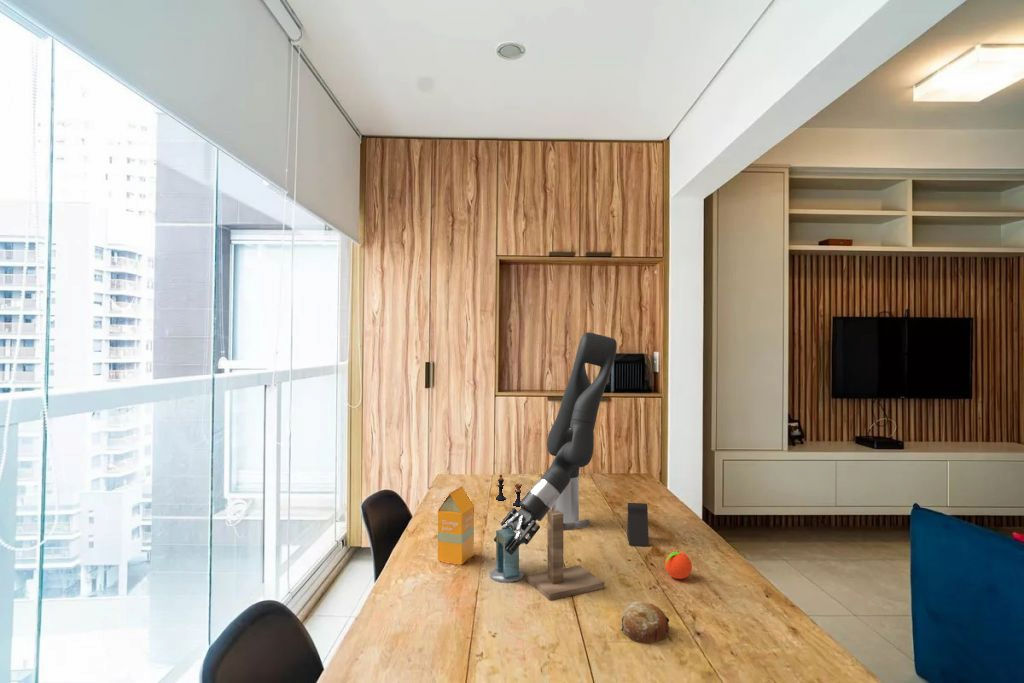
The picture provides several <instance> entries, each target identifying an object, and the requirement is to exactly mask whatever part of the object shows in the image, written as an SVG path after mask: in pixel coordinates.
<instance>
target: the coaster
mask: <svg viewBox="0 0 1024 683" xmlns="http://www.w3.org/2000/svg"><path fill="white" fill-rule="evenodd" d="M489 573H490V575H489V576H490V578H491V580H493V581H495V582H497V581H498V583H502V582H506V583H505V584H508V582H511V583H515V582H514V581H516V582H519V581H521V580H522V579H523V578H524V577H525V576H524V571H523V570H522V569H520V568H519V577H514V578H509V579H505V578H504V575H503V572H497V571H496V568H494V569H492V570H491V571H490V572H489ZM523 576H524V577H523ZM520 579H521V580H520ZM518 580H519V581H518Z"/></svg>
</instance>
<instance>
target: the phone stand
mask: <svg viewBox="0 0 1024 683" xmlns="http://www.w3.org/2000/svg"><path fill="white" fill-rule="evenodd" d="M648 507H649V506H648V503H646V502H645V503H642V502H627V520H626V521H627V523H626V524H627V526H626V529H627V530H626V538H627V541H628V542H629V543H628V545H632V546H631V547H646V546H650V543H649V521H648V520H649V519H648V518H649V516H648V514H649V513H648Z"/></svg>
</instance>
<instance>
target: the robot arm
mask: <svg viewBox="0 0 1024 683" xmlns="http://www.w3.org/2000/svg"><path fill="white" fill-rule="evenodd" d="M617 344H618V343H617V340H616V339H615V338H613V337H610V336H606V335H603V334H598V333H594V332H588V331H587V332H585V333H583V335H582V336H581V338H580V341H579V343H578V347H577V350H576V354H575V357H574V363H573V366H572V370H571V373H570V376H569V380H568V382H567V383H566V384H567V385H566V387H565V390H564V393H563V396H562V399H561V404H560V406H559V410H558V413H557V415H556V417H555V420H554V422H553V425H552V426H551V428H550V431H549V433H548V435H547V442H546V446H547V447H546V448H547V452H548V453H549V454H550V455H551V456H552V457H554V459H553V461H552V463H551V465H550V466H549V468H548V469H547V470H546V471H545V472H544V474H542V476H541V478H540V479H539V480H538V481H536V482H535V484H533V486H532V487H531V490H530V491H529V492H528V493H527V495H526V496H525V497H524V498H523V499H522V501H521V502H520V505H521V509H520V510H519V511H517V510H516V509H515V508H512V510H511V511H510V512H509V513H508V514H507V516H506V517H505V518H504V519H503V521H502V522H500V526H501V529H507V528H510V529H511V530H513V531H514V532H516V533H517V534H516V537H515V539H513V540H512V541H511V543H510V544H509V545H508V547H507V548H506V551H507V552H508V553H509V554H510V555H512V554H513V553H514V552H515V551H516V549H517V548H518V547H519V548H520V546H521V545H523V544H524V545H528V544H529V543H530V542H531V541H532V539H533V538H534V536H535V535H536V534H537V532H538V531H539V530H540V528H541V526H540V524H539V523H537V522H541V521H542V520H543V519H544V518H545V516H546V515H547V512H549V510H550V509H551V507H552V510H550V511H556V510H558V511H560V512H562V513H563V523H568V522H574V521H580V502H579V501H580V483H579V482H580V481H579V480H580V478H579V477H580V469H581V468H584V467H587V465H589V464H590V462H591V461H592V458H593V455H594V447H595V446H594V445H595V442H594V441H595V439H594V437H595V435H594V430H595V427H596V426H595V425H596V422H597V417H598V413H599V409H600V404H601V401H602V398H603V395H604V393H605V389H606V386H607V384H608V381H609V378H610V374H611V371H612V368H613V365H614V362H615V360H616V359H615V358H616V355H617V350H618V348H617V347H618V345H617ZM586 364H589V365H594V366H597V367H600V369H599V371H598V374H597V376H596V377H595V379H594V380H593V381H592V383H591V381H590V380H589V379H590V378H589V376H588V373H587V371H586ZM507 520H508V521H507ZM506 521H507V523H505V522H506ZM493 541H494V542H495V543H496V536H495V537H494V538H493Z"/></svg>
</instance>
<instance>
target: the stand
mask: <svg viewBox="0 0 1024 683" xmlns="http://www.w3.org/2000/svg"><path fill="white" fill-rule="evenodd" d="M546 515H547V516H546V517H547V522H546V524H547V526H546V527H547V542H546V543H547V549H546V550H547V556H546V557H547V566H546V567H547V568H546V569H547V571H543V572H538V573H534V574H528V575H527V582H528V583H529V582H530V583H531V584H532V585H531V584H530V583H529V584H530V585H531V586H532V587H534V588H535V589H536V590H537V589H538V590H539V591H540V592H539V591H538V590H537V591H538V592H539V593H540V594H542V595H543V596H544V597H545V596H546V597H547V598H548V599H547V598H546V597H545V598H546V599H547V600H548V601H553V599H554V600H557V599H562V597H563V598H567V597H570V596H571V595H572V596H576V595H581V594H585V593H589V591H590V592H593V590H595V591H599V590H603V589H602V588H604V589H605V588H606V586H605V585H606V584H605V581H604V580H602V579H600V578H599V577H597V576H596V575H595V574H593V573H592V572H590V571H589V570H587V569H586V568H584V567H583V566H582V565H575V566H574V565H573V566H570V567H564V531H569V530H575V529H582V528H588V527H589V528H590V526H591V521H590V519H583V520H579V521H574V522H568V523H563V513H562V512H560V511H558V510H556V511H552V510H550V511H548V512H547V514H546ZM598 589H599V590H598ZM584 592H585V593H584ZM580 593H581V594H580ZM575 594H576V595H575ZM566 596H567V597H566Z"/></svg>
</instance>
